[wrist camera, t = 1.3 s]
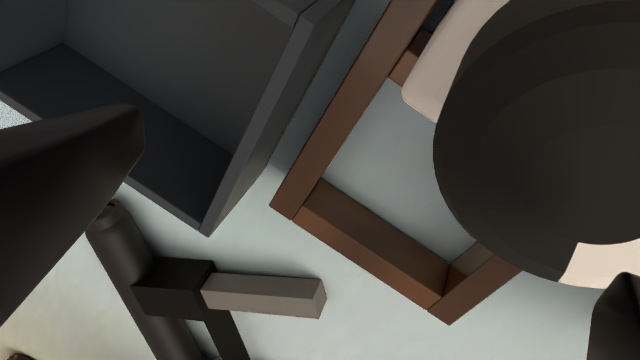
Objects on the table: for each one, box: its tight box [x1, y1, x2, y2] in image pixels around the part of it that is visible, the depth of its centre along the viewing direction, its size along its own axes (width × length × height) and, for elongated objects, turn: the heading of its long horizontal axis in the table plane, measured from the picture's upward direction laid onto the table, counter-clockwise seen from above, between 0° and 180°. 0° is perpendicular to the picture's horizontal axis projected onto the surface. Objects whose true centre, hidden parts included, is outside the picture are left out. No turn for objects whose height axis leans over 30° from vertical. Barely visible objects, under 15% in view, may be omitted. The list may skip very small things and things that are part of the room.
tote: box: [0, 0, 356, 237], centre depth 22 cm, size 13×12×6 cm
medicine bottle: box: [401, 0, 640, 289], centre depth 13 cm, size 7×7×12 cm
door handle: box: [85, 199, 327, 360], centre depth 36 cm, size 3×20×16 cm
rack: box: [269, 0, 523, 325], centre depth 20 cm, size 11×21×2 cm, turn 152°
